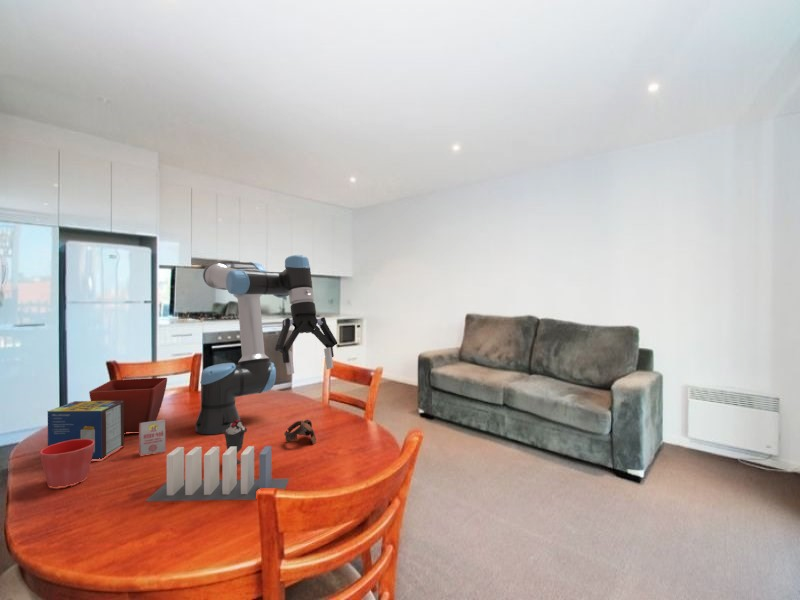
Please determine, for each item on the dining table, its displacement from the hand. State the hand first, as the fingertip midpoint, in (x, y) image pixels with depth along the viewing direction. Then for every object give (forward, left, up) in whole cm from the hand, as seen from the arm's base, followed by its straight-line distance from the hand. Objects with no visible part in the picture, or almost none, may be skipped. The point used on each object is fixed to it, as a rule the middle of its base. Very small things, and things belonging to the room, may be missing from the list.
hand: (311, 371), depth 113 cm
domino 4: (+17, -17, -27) cm, 36 cm away
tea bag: (-7, -51, -28) cm, 58 cm away
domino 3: (+17, -22, -27) cm, 39 cm away
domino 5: (+17, -13, -27) cm, 34 cm away
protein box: (-6, -70, -28) cm, 75 cm away
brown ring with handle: (-15, -6, -28) cm, 32 cm away
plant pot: (-28, -71, -28) cm, 81 cm away
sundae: (+2, -22, -27) cm, 35 cm away
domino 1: (+17, -31, -27) cm, 44 cm away
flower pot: (+11, -62, -28) cm, 69 cm away
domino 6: (+17, -8, -27) cm, 33 cm away
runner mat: (+17, -19, -27) cm, 38 cm away
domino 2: (+17, -26, -27) cm, 41 cm away
